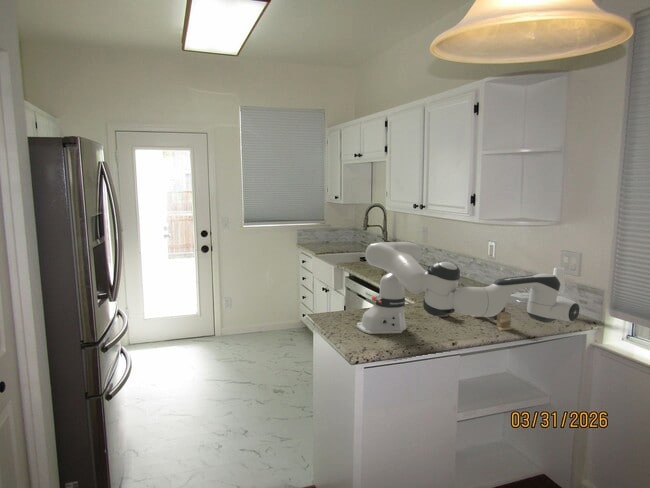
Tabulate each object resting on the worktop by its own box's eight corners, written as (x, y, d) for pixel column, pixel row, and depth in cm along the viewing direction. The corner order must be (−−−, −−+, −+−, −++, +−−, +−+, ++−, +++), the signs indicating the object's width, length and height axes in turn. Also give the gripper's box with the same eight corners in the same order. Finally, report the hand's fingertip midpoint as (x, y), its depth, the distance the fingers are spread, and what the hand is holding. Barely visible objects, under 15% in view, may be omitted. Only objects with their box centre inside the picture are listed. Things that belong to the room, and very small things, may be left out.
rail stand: (513, 329, 203) (514, 313, 202) (500, 330, 201) (501, 314, 200) (478, 314, 227) (479, 300, 226) (466, 315, 224) (467, 300, 223)
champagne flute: (545, 312, 232) (549, 267, 229) (554, 311, 235) (558, 266, 232) (555, 316, 226) (560, 269, 223) (565, 314, 229) (569, 269, 226)
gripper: (521, 311, 180) (498, 302, 193) (561, 307, 186) (536, 299, 199) (522, 295, 179) (499, 288, 192) (562, 292, 185) (537, 285, 198)
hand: (518, 293), depth 195 cm, fingers closed
